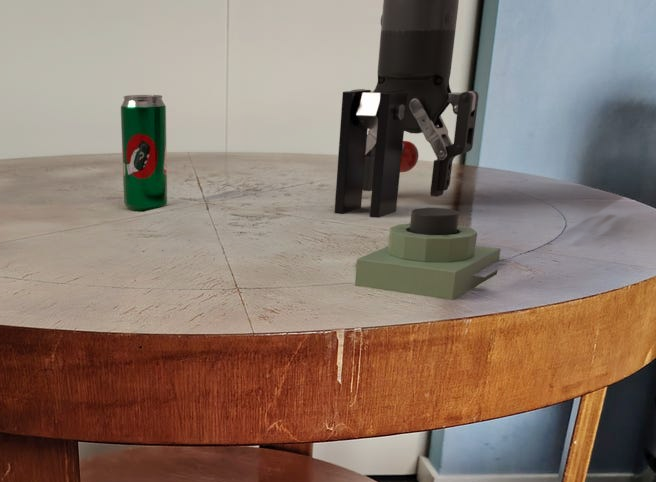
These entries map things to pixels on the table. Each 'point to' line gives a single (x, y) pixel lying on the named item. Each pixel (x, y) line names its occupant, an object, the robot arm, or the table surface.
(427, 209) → the button
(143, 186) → the soda can
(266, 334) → the table surface
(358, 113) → the lever
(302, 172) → the table surface
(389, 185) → the bracket
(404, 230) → the control block
